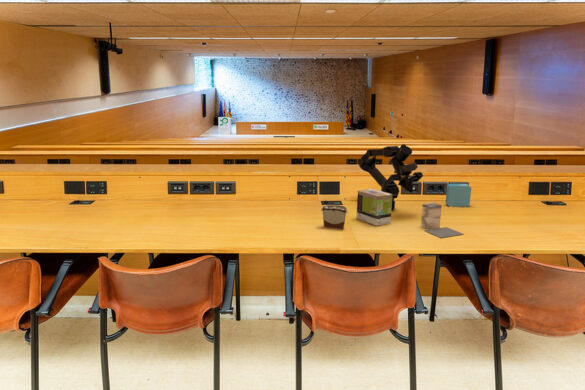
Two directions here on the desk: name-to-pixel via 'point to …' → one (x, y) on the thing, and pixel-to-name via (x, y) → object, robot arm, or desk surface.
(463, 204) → the teal square slab
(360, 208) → the tea box
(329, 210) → the food container
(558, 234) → the desk surface
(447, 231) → the mat
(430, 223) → the cream block
